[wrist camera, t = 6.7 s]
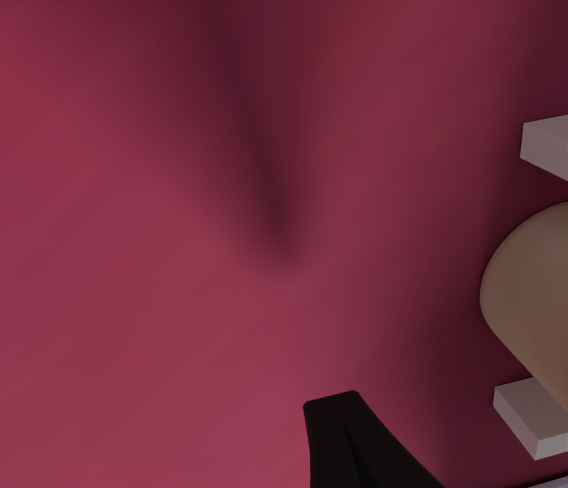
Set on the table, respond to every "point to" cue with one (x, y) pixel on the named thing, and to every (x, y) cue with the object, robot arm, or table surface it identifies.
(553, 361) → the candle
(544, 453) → the box
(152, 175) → the table surface
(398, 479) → the robot arm
